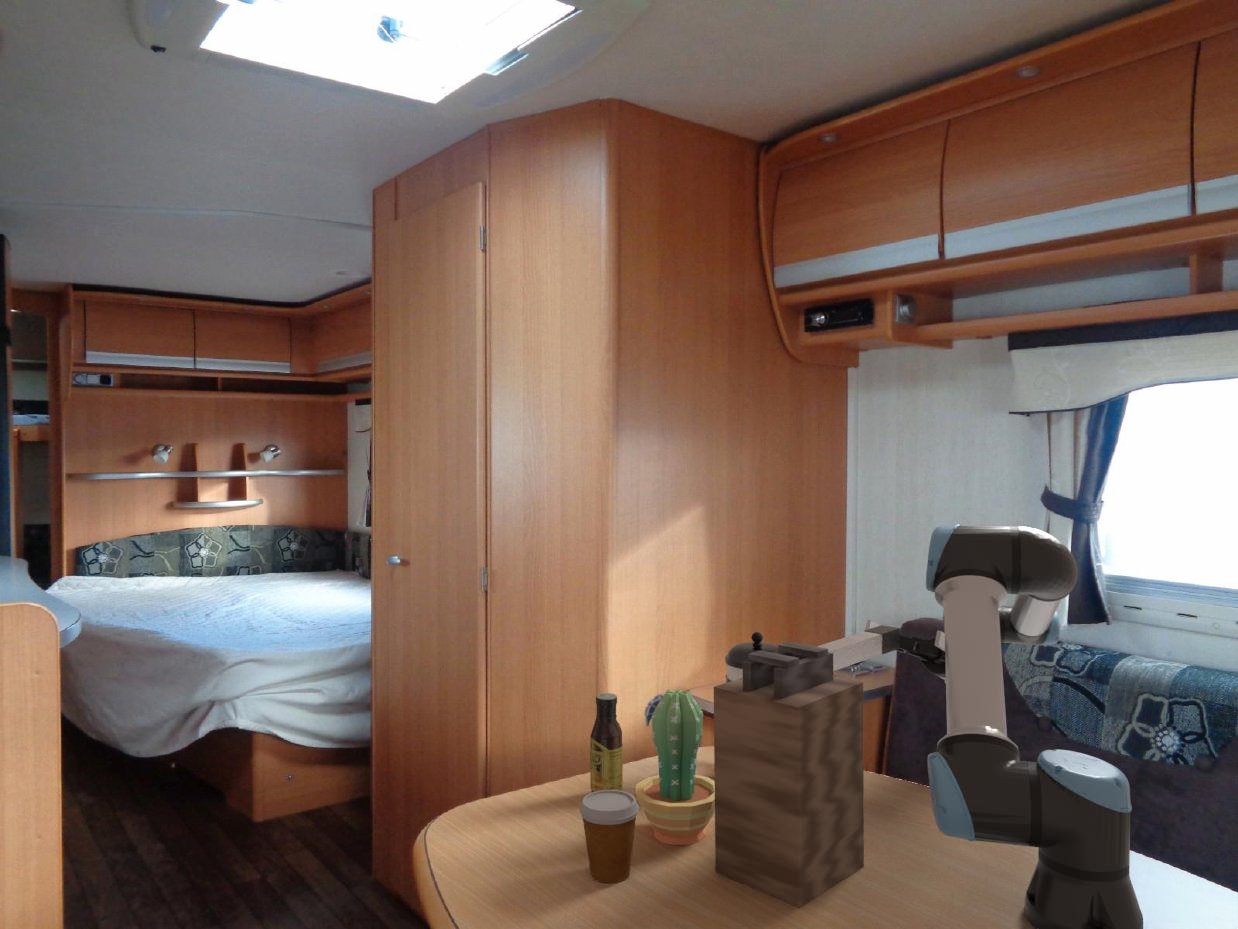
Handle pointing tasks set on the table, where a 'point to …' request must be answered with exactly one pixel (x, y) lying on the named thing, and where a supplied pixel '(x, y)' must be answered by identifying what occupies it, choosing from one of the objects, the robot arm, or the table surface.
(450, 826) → the table surface
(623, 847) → the disposable coffee cup
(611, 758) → the sauce bottle
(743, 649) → the coffee press
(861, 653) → the white bar dark ends
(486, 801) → the table surface
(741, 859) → the walnut post
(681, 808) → the potted cactus
